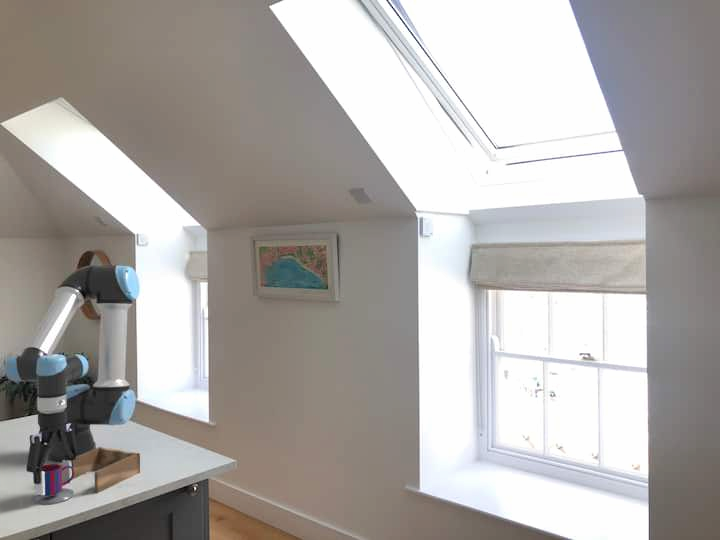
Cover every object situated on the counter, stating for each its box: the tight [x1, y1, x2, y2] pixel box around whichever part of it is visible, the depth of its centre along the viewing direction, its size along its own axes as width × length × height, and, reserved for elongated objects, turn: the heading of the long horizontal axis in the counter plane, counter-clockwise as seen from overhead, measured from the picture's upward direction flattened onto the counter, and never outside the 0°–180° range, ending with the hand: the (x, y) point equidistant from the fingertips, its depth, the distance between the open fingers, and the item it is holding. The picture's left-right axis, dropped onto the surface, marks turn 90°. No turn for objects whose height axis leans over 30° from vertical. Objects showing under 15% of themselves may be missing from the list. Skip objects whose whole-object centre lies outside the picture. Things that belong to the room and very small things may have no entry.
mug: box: [39, 463, 74, 496], centre depth 183 cm, size 7×10×7 cm
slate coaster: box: [34, 487, 75, 505], centre depth 183 cm, size 10×10×1 cm
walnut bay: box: [58, 446, 141, 494], centre depth 197 cm, size 16×18×6 cm
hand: (54, 488), depth 182 cm, fingers closed on mug, 9 cm apart
